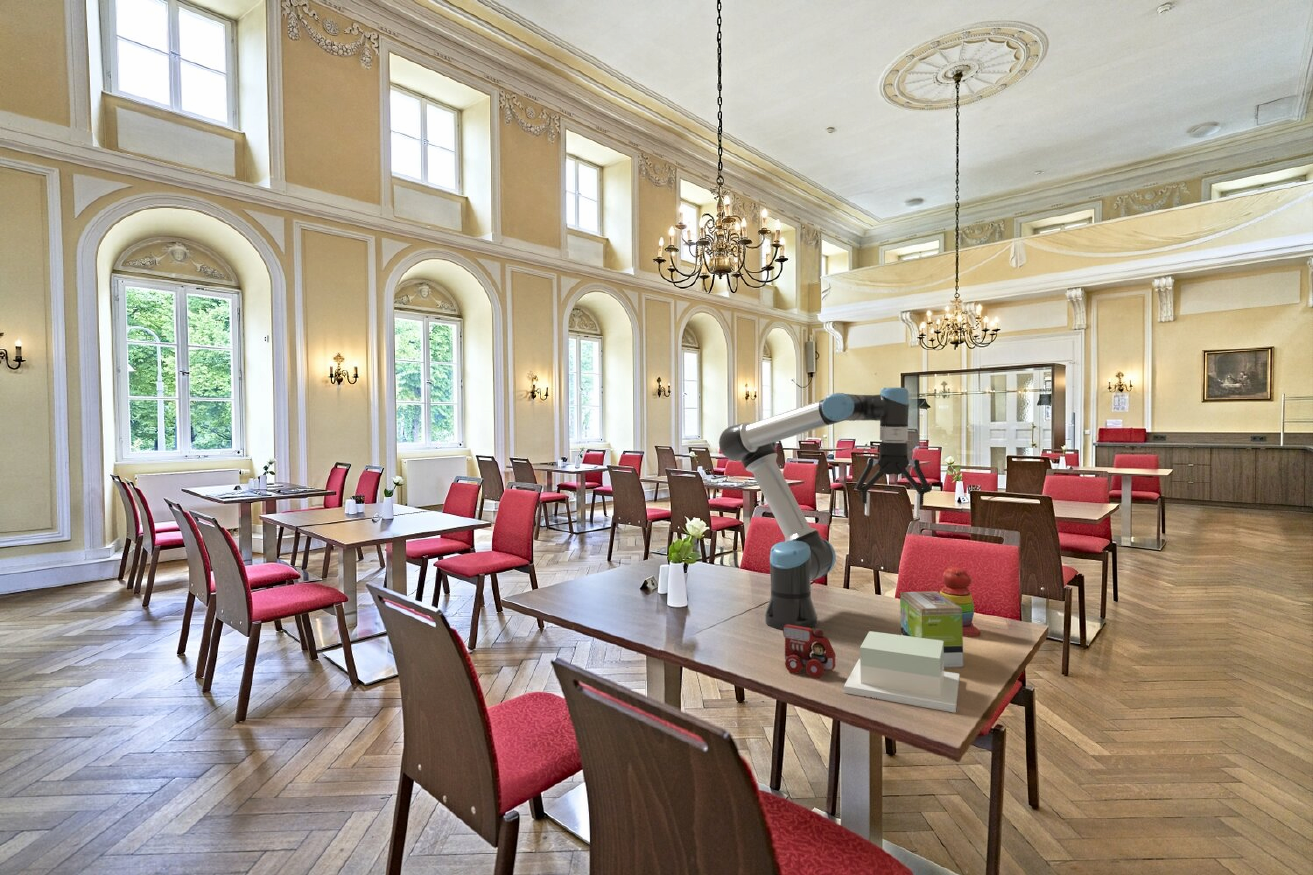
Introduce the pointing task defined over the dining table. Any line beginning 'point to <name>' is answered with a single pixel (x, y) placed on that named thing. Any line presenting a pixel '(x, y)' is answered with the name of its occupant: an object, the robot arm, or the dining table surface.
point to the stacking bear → (960, 597)
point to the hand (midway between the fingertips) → (891, 515)
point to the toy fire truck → (807, 650)
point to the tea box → (934, 622)
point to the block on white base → (904, 672)
